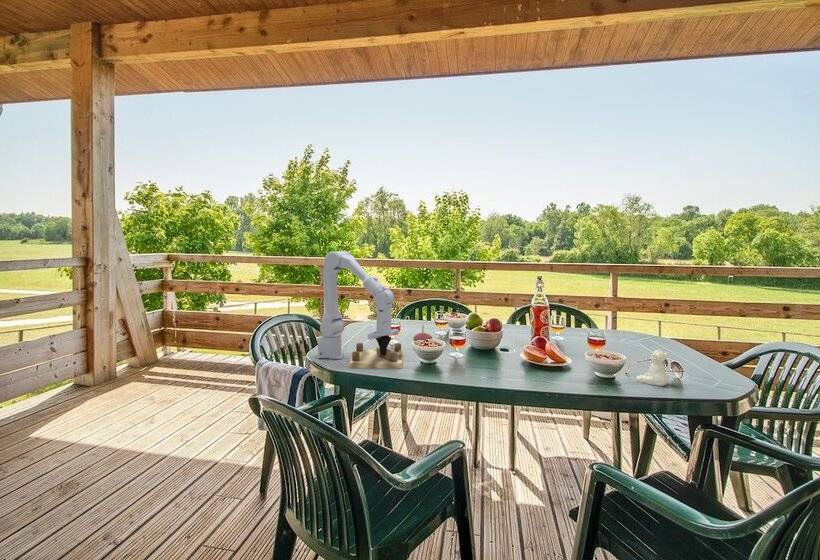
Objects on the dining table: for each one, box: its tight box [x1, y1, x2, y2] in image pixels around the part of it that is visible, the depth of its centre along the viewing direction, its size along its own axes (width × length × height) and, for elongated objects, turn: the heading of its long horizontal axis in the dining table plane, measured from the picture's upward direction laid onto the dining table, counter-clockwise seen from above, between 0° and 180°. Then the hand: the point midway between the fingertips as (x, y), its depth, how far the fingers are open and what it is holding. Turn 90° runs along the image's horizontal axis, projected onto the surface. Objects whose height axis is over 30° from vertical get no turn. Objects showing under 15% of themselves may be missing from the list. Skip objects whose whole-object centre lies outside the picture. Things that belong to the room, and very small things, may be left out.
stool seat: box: [348, 342, 404, 370], centre depth 173 cm, size 20×20×5 cm
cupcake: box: [412, 324, 433, 342], centre depth 193 cm, size 9×8×12 cm
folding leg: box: [376, 346, 398, 361], centre depth 170 cm, size 12×2×3 cm, turn 38°
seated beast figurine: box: [635, 349, 669, 387], centre depth 149 cm, size 10×9×12 cm
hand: (383, 354), depth 169 cm, fingers closed, pressing on folding leg
